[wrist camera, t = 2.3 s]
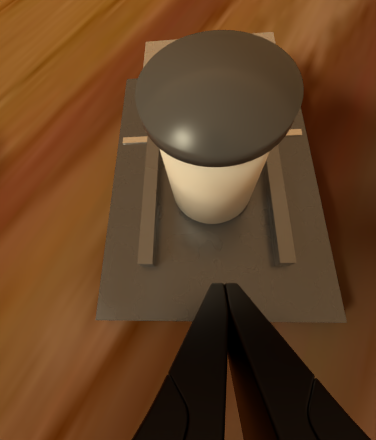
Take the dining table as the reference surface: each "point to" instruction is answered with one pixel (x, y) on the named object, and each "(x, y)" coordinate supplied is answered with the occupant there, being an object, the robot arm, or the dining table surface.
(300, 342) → the dining table surface
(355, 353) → the dining table surface
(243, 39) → the knob
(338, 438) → the robot arm
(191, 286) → the knob mount
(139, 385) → the dining table surface
